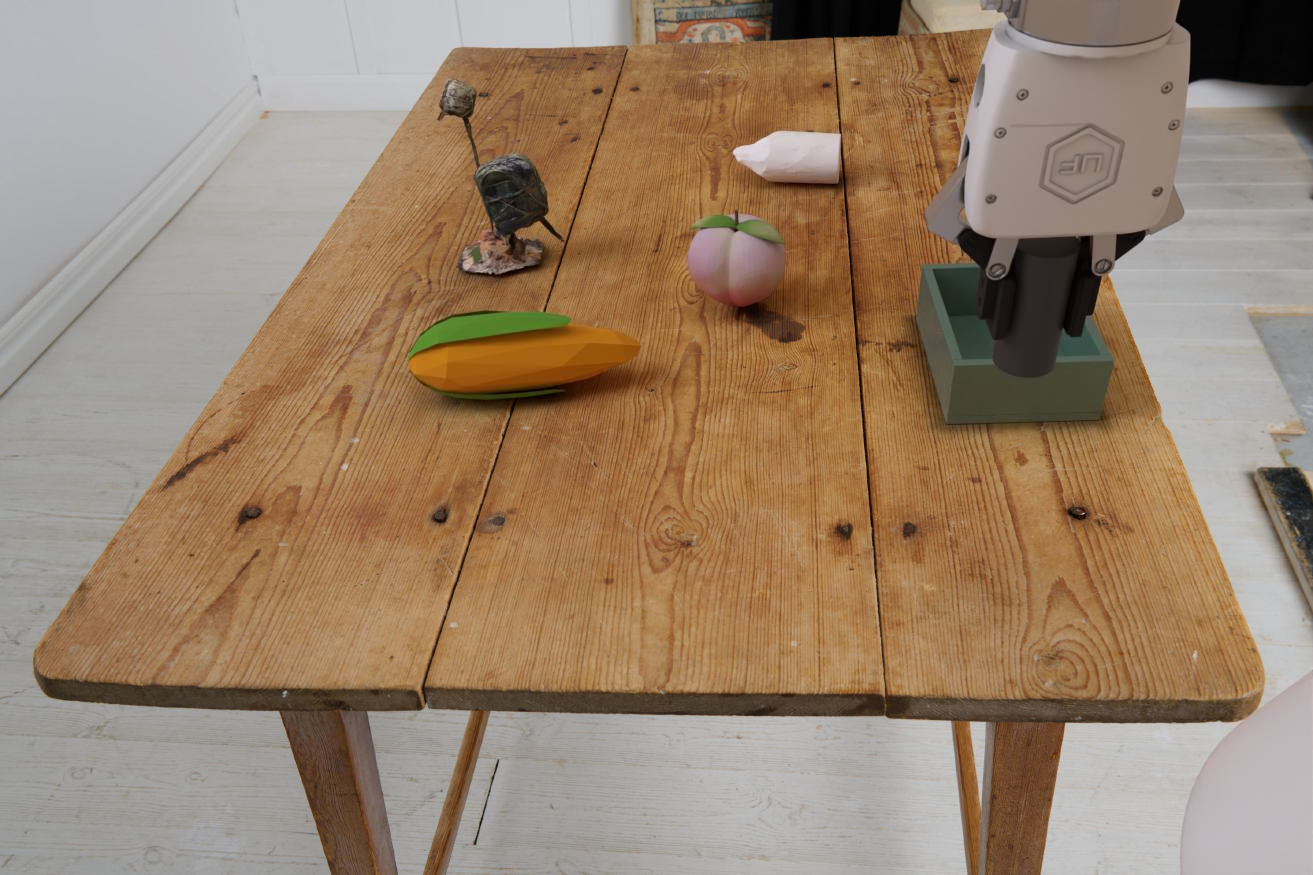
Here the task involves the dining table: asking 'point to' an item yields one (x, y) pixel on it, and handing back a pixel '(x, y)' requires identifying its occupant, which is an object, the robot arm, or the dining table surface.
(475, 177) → the long necked figurine
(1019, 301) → the dark grey cylinder
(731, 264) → the decorative fruit
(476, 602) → the dining table surface
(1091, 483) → the dining table surface
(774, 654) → the dining table surface
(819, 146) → the white pointed cylinder
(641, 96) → the dining table surface
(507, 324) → the corn
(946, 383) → the bin
